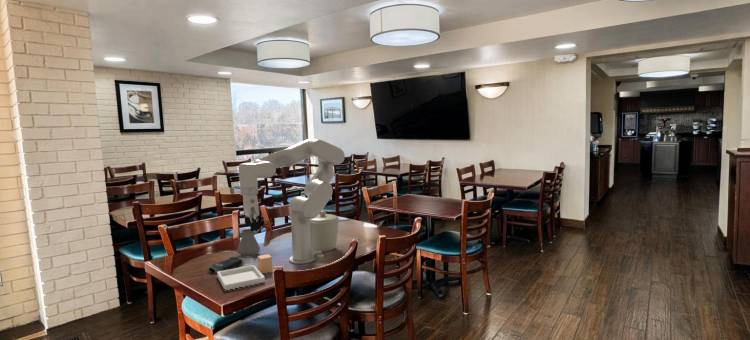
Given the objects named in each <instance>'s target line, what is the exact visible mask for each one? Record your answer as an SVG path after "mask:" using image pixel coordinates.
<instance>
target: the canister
mask: <svg viewBox="0 0 750 340" xmlns="http://www.w3.org/2000/svg"><path fill="white" fill-rule="evenodd" d="M340 219H341V218H340V217H339V216H337V215H336V214H335V215H334V214H330V213H327V211H326V210H324V209H322V211H321V212H320V213H319V214H318V215H317V216H316V217H315V218H313V219H310V220H311V237H312V250H321V253H325V252H326V253H327V252H331V251H333V250H335V248H336V246H337V242H338V241H337V240H338V232H339V221H340Z"/></svg>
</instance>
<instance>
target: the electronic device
mask: <svg viewBox="0 0 750 340" xmlns="http://www.w3.org/2000/svg"><path fill="white" fill-rule="evenodd" d="M243 264H244V259H243V258H239V257H237V256H230V257H229V258H228V259H225V260H222V261H218V262H215V263H213V264H211V265H210V266H209V267H208V272H209V274H210V273H212V274H217V272H218V271H224V270H229V269H235V268H237V267H238V266H239V265H243ZM213 271H214V272H213Z"/></svg>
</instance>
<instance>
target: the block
mask: <svg viewBox="0 0 750 340" xmlns="http://www.w3.org/2000/svg"><path fill="white" fill-rule="evenodd" d="M257 267H258V268H257V269H258V270H259V271H260V272H261V274H262V273H265V274H268V273H267V272H270V273H273V258H272V256H271V255H270V254H269V253H267V254H262V255H257ZM262 275H263V274H262Z"/></svg>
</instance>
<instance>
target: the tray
mask: <svg viewBox="0 0 750 340" xmlns="http://www.w3.org/2000/svg"><path fill="white" fill-rule="evenodd" d="M216 274H217V275H216V276H217V279H218V281H219V282H220V284H221V287H222V288H223V290H224V289H225V290H224V291H225V292H227V291H226V290H228V291H231V290H230V289H233V290H236V289H235V288H238V289H240V288H239V287H243V288H246V287H245V286H248V287H250V286H249V285H253V286H255V285H254V284H258V285H260V284H259V283H263V282H265V283H266V278H265V275H264V274H261V272H260V271H259V270H258V268H257V266H256V265H253V264H252V265H247V266H246V265H245V266H241V267H234V268H232V269H229V270H224V271H218V272H217V273H216ZM263 284H264V283H263Z"/></svg>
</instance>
